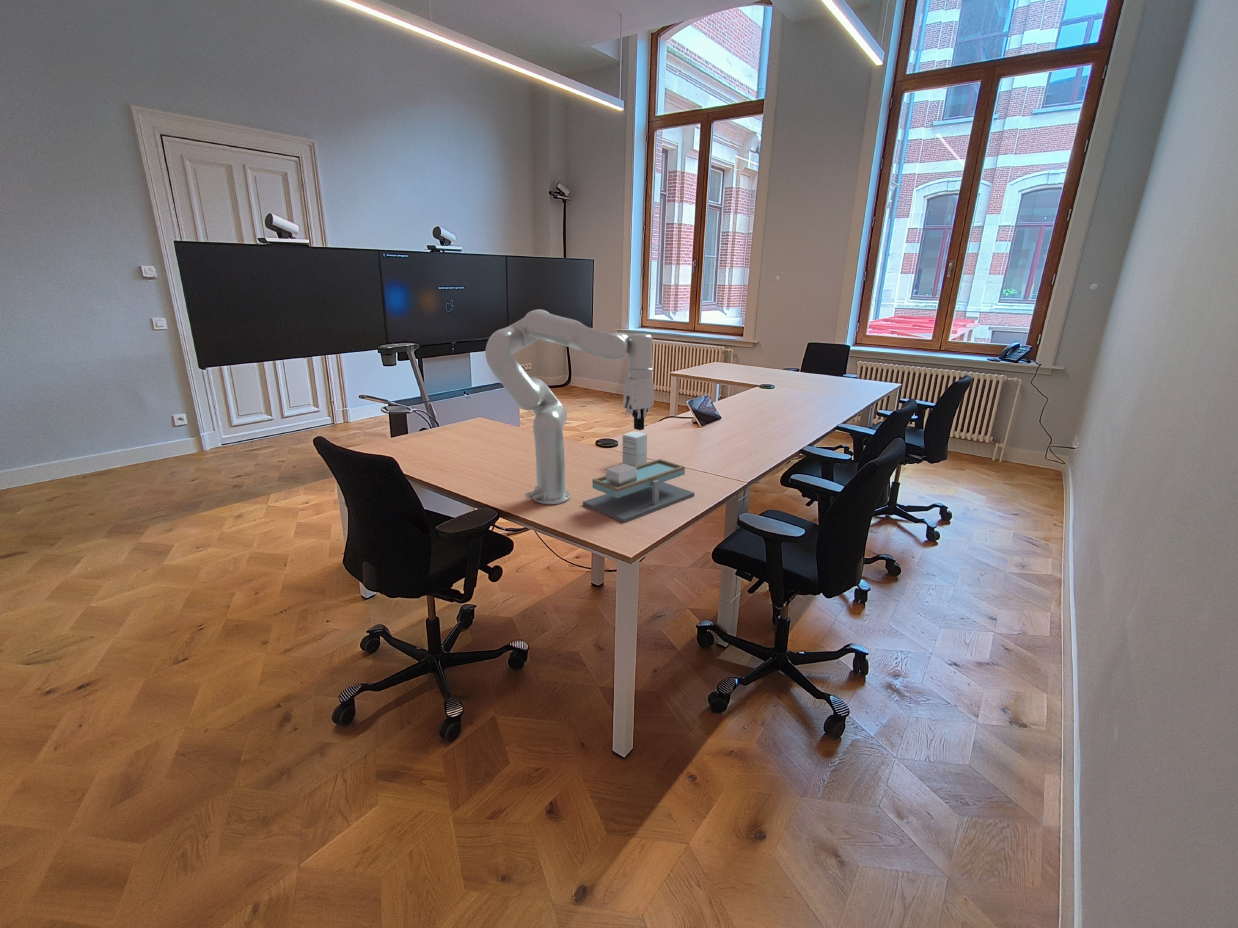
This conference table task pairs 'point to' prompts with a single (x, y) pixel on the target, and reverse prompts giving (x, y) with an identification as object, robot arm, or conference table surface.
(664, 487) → the stand
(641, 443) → the supplement box
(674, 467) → the beam
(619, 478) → the steel block
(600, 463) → the conference table surface
